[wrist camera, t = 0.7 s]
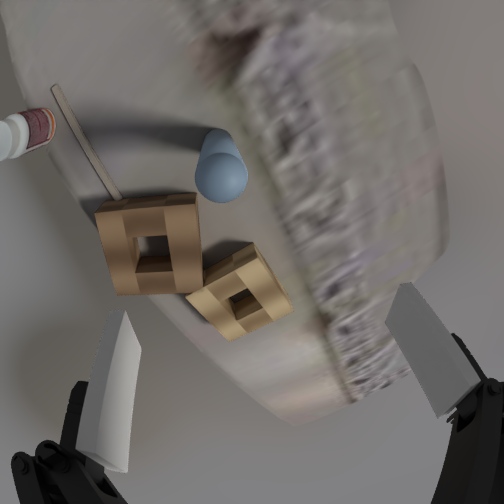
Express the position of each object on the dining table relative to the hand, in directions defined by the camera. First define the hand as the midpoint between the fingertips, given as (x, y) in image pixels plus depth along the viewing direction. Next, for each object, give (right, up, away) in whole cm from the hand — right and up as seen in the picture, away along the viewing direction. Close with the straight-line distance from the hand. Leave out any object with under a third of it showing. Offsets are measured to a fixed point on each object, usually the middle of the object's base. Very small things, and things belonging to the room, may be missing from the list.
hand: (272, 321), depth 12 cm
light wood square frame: (-3, -2, +25) cm, 25 cm away
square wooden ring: (-12, +5, +20) cm, 24 cm away
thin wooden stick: (-19, +15, +12) cm, 27 cm away
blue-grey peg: (-4, +15, +15) cm, 21 cm away
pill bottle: (-25, +18, +10) cm, 32 cm away
